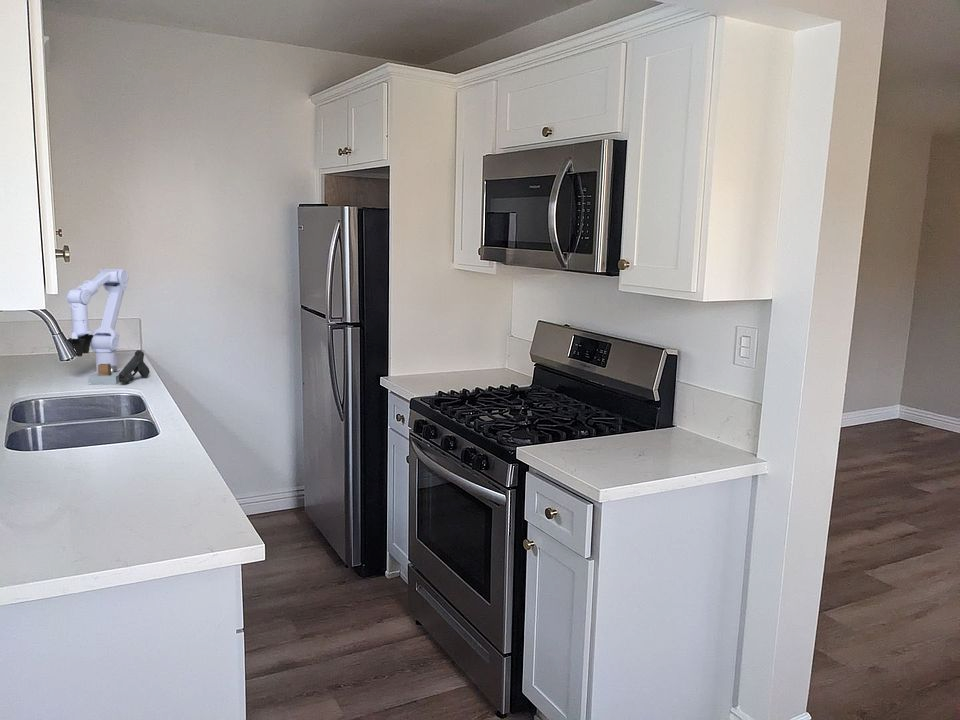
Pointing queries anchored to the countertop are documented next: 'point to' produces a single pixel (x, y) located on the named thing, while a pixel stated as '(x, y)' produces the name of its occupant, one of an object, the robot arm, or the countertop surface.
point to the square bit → (104, 369)
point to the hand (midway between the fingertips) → (82, 354)
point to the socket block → (104, 378)
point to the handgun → (134, 368)
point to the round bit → (114, 368)
